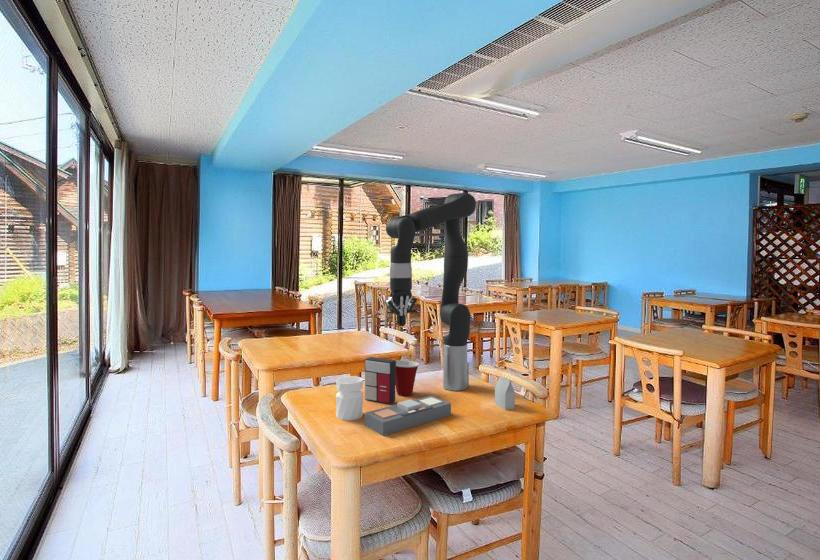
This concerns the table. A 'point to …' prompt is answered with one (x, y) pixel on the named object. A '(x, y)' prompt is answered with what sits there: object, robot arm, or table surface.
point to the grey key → (408, 405)
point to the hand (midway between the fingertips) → (401, 325)
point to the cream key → (430, 401)
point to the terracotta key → (385, 413)
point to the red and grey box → (380, 380)
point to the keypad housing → (407, 417)
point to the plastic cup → (405, 377)
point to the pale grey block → (504, 393)
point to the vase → (349, 398)
